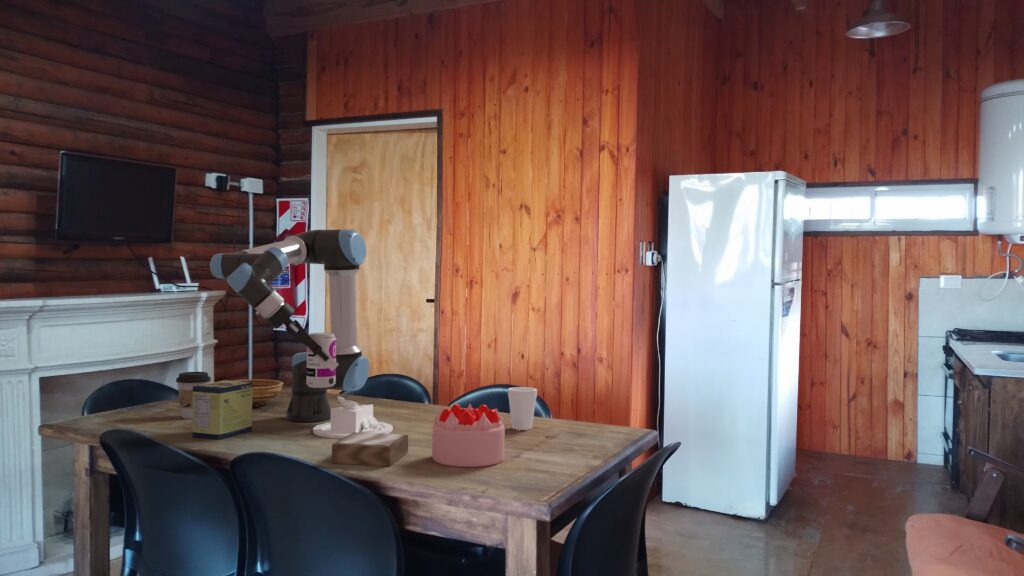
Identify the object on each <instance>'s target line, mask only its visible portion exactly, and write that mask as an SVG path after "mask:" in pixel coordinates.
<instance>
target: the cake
mask: <svg viewBox="0 0 1024 576" xmlns="http://www.w3.org/2000/svg"><path fill="white" fill-rule="evenodd" d="M504 420H505V419H504V417H503V416H502V415H501V414H500V413H499V411H498V408H497V407H496V408H495V409H493V408H490V409H489V408H488V405H486V404H481V405H479V407H478V408H476V407H475V408H473V406H472V404H471V403H469V404H468V406H467V408H466V407H465V408H464V407H462V408H461V406H460V404H457V403H455V404H452V406H451V407H450V409H449V408H445V407H444V406H442V407H441V411H440V412H439V413H438V414H436V416H435V418H434V422H435V423H434V424H433V425H432V441H431V443H432V447H431V448H432V450H431V452H432V453H431V455H432V456H431V457H432V460H433V461H434V462H435V463H437V464H439V465H444V466H449V467H458V468H479V467H488V466H493V465H496V464H500V463H502V462H503V460H504V458H505V430H506V429H505V425H504V423H505V422H504Z"/></svg>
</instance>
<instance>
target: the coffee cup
mask: <svg viewBox="0 0 1024 576" xmlns="http://www.w3.org/2000/svg"><path fill="white" fill-rule="evenodd" d="M175 379H176V380H175V383H177V391H178V398H179V405H180V406H179V407H180V415H181V418H182V419H186V420H191V419H192V420H193V386H196V385H202V384H208V383H211V381H212V379H211V376H209V372H207V371H185V372H179V373H178V377H176V378H175Z"/></svg>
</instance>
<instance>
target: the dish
mask: <svg viewBox="0 0 1024 576" xmlns="http://www.w3.org/2000/svg"><path fill="white" fill-rule="evenodd" d="M337 400H338V401H339V402H340V404H341V405H343V406H342V407H330V408H331V419H330V422H324V423H321V424H317V425H315V426H314V427H313V428H312V432H313V434H314V435H317V436H318V437H322V438H327V439H339V440H341V439H343V438H344V437H346V436H348V435H350V434H352V433H354V432H359V433H379V434H392V433H391V432H393V431H394V426H393V425H392V424H390V423H387V422H384V421H378V420H377V418H376V417H374V404H363V405H359V403H358V402H356V401H354V400H351V399H350V400H349V399H345V398H344V397H342V396H339V395H338V396H337Z"/></svg>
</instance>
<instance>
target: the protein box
mask: <svg viewBox="0 0 1024 576" xmlns="http://www.w3.org/2000/svg"><path fill="white" fill-rule="evenodd" d="M252 383H253V382H243V381H233V380H230V379H228V380H227V379H225V380H224V379H223V380H220V381H215V382H209V383H208V384H202V385H196V386H193V419H192V420H191V421H192V427H191V429H192V433H191V434H192V435H191V436H192V437H193V438H201V439H210V440H211V439H212V440H223V439H226V438H229V437H234V436H237V435H240V434H245V433H248V432H252V431H253V407H252Z"/></svg>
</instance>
